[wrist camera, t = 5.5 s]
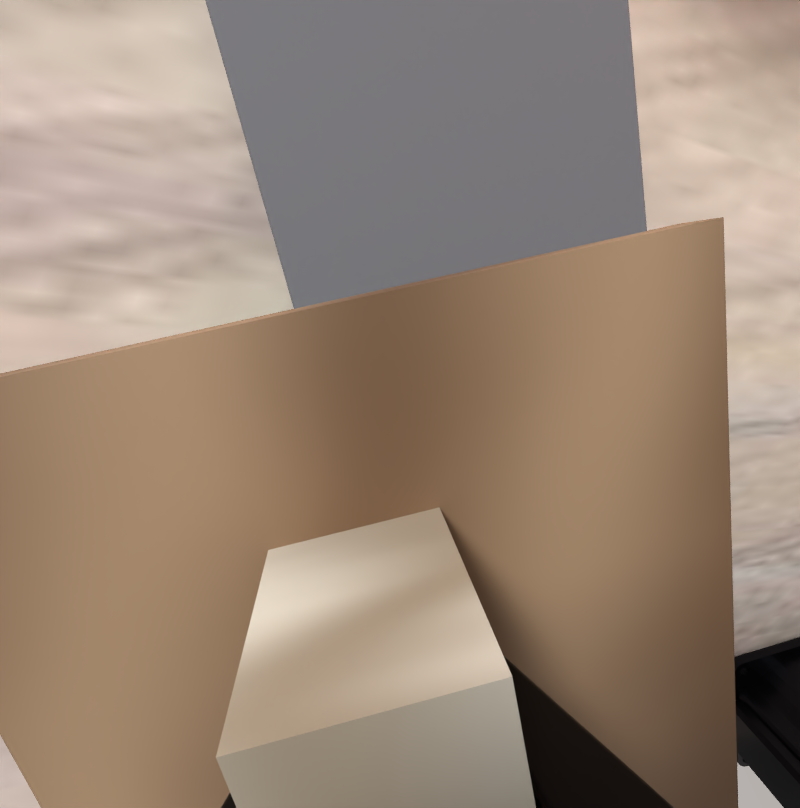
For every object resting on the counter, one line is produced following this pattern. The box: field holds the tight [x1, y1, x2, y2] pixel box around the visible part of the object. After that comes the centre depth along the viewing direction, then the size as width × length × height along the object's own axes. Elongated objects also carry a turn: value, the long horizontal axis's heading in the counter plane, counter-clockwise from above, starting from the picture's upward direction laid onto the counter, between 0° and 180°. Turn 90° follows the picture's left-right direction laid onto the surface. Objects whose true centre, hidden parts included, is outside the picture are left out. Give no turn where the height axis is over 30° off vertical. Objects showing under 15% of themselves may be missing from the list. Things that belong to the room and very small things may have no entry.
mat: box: [206, 0, 647, 309], centre depth 15 cm, size 12×12×1 cm
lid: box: [0, 217, 738, 808], centre depth 6 cm, size 11×11×4 cm
